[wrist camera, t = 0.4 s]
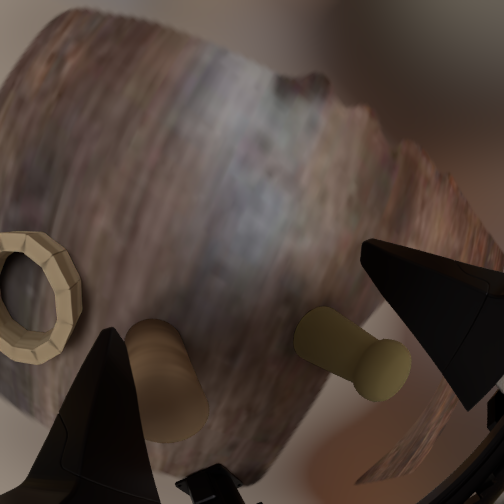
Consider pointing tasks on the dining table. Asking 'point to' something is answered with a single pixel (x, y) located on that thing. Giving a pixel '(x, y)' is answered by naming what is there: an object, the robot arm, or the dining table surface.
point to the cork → (352, 353)
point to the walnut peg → (165, 383)
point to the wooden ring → (66, 296)
